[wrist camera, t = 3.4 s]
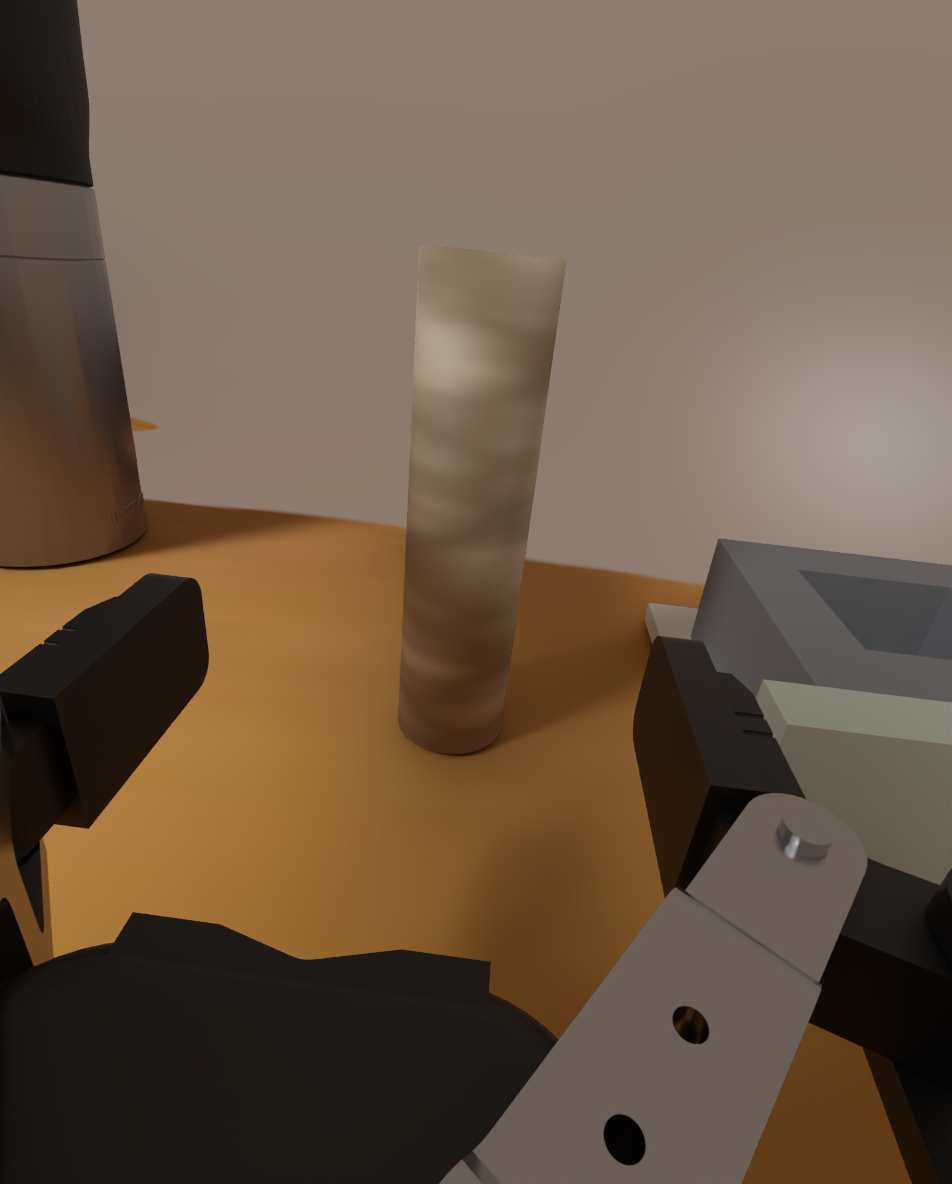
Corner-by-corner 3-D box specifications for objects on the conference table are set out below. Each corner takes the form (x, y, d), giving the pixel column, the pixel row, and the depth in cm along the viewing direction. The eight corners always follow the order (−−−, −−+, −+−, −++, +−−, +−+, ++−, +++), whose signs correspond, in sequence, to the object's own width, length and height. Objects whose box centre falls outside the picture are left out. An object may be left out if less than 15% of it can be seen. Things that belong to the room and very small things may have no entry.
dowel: (388, 746, 23) (407, 243, 16) (408, 682, 27) (431, 247, 19) (498, 760, 23) (569, 259, 16) (504, 694, 26) (563, 260, 19)
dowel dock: (724, 882, 19) (787, 724, 16) (644, 619, 33) (671, 511, 31) (1206, 946, 19) (1355, 795, 16) (917, 652, 33) (969, 545, 30)
